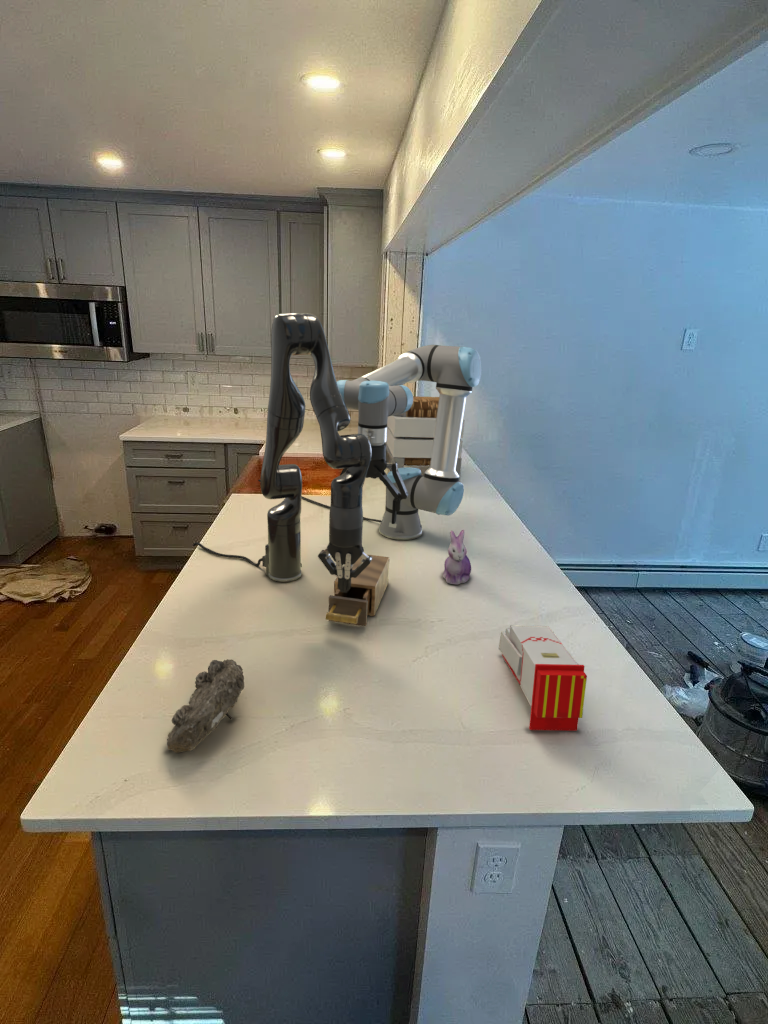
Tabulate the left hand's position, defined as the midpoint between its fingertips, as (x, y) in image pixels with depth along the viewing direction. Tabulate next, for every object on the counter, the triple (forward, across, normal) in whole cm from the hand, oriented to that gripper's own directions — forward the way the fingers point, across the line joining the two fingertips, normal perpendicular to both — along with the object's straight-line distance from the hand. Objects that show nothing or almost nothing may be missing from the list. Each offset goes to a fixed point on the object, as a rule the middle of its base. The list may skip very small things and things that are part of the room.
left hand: (344, 591), depth 133 cm
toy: (+12, +44, -9) cm, 47 cm away
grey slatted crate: (+12, -2, +148) cm, 149 cm away
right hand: (-9, 0, +25) cm, 26 cm away
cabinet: (+12, 0, +20) cm, 23 cm away
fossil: (+12, -16, -35) cm, 40 cm away
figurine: (+12, +24, +38) cm, 47 cm away
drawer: (+11, 0, +9) cm, 14 cm away
